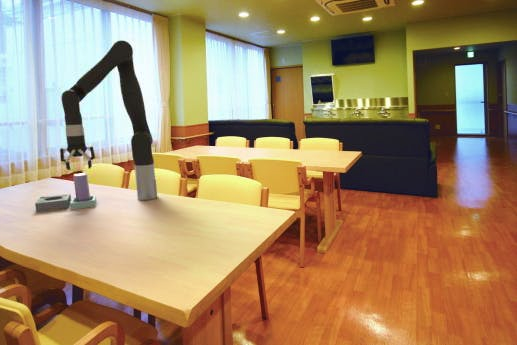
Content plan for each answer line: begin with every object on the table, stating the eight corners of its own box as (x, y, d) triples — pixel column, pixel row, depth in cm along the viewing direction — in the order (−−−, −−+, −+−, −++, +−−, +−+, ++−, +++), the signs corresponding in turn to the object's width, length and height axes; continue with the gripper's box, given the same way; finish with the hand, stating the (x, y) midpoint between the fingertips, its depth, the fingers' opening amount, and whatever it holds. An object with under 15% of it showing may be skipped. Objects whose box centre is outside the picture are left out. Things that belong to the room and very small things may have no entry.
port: (71, 201, 181) (70, 192, 181) (68, 208, 170) (67, 198, 169) (41, 205, 177) (40, 196, 176) (36, 212, 165) (34, 202, 164)
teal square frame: (96, 201, 181) (95, 195, 180) (95, 206, 171) (94, 200, 171) (73, 203, 177) (72, 197, 176) (70, 209, 167) (69, 203, 167)
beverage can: (85, 207, 171) (81, 175, 168) (74, 206, 172) (70, 175, 169) (93, 203, 176) (89, 173, 174) (82, 203, 178) (78, 173, 175)
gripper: (92, 133, 174) (96, 166, 177) (59, 134, 169) (63, 169, 172) (91, 134, 167) (95, 169, 170) (56, 136, 162) (61, 172, 165)
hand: (79, 169), depth 171 cm, fingers open, 8 cm apart
